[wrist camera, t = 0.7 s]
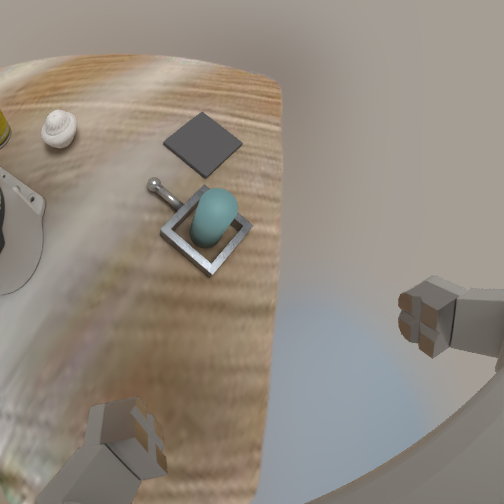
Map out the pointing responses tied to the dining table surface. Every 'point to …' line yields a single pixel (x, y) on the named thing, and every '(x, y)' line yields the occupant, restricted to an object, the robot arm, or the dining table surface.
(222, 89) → the dining table surface
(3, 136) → the supplement bottle
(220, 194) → the teal peg
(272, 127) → the dining table surface
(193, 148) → the rubber mat
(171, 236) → the socket
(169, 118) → the dining table surface
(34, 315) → the dining table surface
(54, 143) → the muffin
